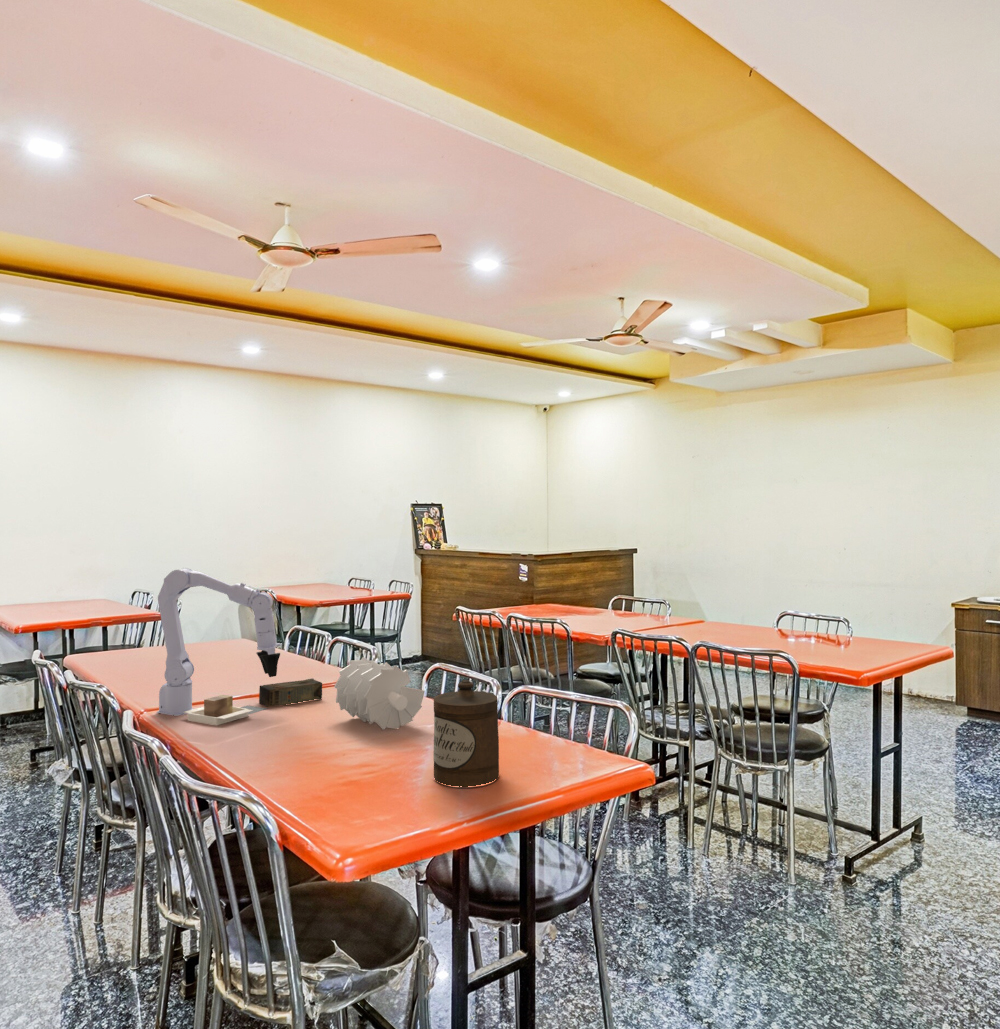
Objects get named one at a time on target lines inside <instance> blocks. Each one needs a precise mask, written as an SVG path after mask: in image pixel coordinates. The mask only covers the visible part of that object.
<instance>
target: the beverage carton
mask: <svg viewBox="0 0 1000 1029" xmlns="http://www.w3.org/2000/svg"><path fill="white" fill-rule="evenodd" d="M258 691H259V692H258V694H259V695H258V697H259V698H258V699H259V700H258V702H259V704H261V705H262V706H265V708H266V707H267V708H272V707H278V706H279V705H285V706H287V705H286V704H291V703H297V704H299V703H298V702H303V701H309V700H314V699H321V698H322V699H323V682H322V681H318V680H316V679H314V678H313V677H312V678H307V679H303V680H294V681H284V682H277V683H269V684H267V683H266V684H263V685H259V689H258ZM322 699H321V700H322ZM309 702H310V701H309ZM303 703H304V702H303ZM291 705H292V704H291ZM279 707H280V706H279Z"/></svg>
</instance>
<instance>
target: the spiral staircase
mask: <svg viewBox="0 0 1000 1029" xmlns="http://www.w3.org/2000/svg"><path fill="white" fill-rule="evenodd" d="M338 672H339V674H340V675H339V677H338V679H337V681H336V683H335V684H334V686H333V688H335V689H336V698H335V703H336V704H339V705H338V706H339V709H340V711H343V710H345V711H346V712H347V713H348V714H349V715H350V716H351V717H352V718H355V716H356V717H358V719H360V720H361V721H362V722H364V723H366V722H368V723H369V724H370V725H372V724H373V723H376V724H377V725H378V727H380V729H382V731H384V730H385V729H386V728H389V729H396V728H399V729H400V727H403V726H404V725H406V724H409V723H411V722H413V721H414V719H413V718H415V716H417V713H419V711H420V710H421V709H422V707H423V706H422V703H423V700H424V696H425V691H426V690H424V689H417V688H412V687H408V686H407V685H409V684H410V683H412V681H411V678H410V676H409V673H408V671H407V669H405V670H402V669H401V668H399V667H398V666H397V665H393V666H391V665H390V664H389V663H388V662H387V661H386V662H385V663H384V662H381V663H380V664H379V663H378V662H376V661H375V660H372V659H370V660H369V659H368V658H366V657H364V656H362V658H361V659H354V660H349V664H348V665H347V666H345V667H343V668H342V669H340V670H339V671H338ZM365 721H366V722H365ZM396 730H397V729H396Z"/></svg>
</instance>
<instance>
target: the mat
mask: <svg viewBox="0 0 1000 1029" xmlns="http://www.w3.org/2000/svg"><path fill="white" fill-rule="evenodd" d="M239 708H246V709H249V710H253V711H252V712H249V715H252V714H255V713H258V712H261V711H266V710H269V707H267V708H266V707H260V706H254V705H244V706H241V707H240V706H239Z"/></svg>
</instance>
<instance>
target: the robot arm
mask: <svg viewBox="0 0 1000 1029" xmlns="http://www.w3.org/2000/svg"><path fill="white" fill-rule="evenodd" d="M194 587H195V588H197V587H205V588H207V589H210V590H212V591H216V592H218V593H222V594H225V595H226V596H227V597H228V599H229V601H231V602H234V603H236V604H239V605H241V606H244V607H246V608H251V610H253V614H254V626H255V636H256V645H257V646H256V650H258V651H257V652H256V653H255V654H256V655H257V657H258V658H259V660H260V663H261V666H262V670H263V673H264V674H267V675H268V677H269V678H272V677H277V673H278V663H279V659H280V657H281V652H277V653H276V648H277V647H280V646H282V644H281V642H277V634H276V627H275V626H276V625H275V619H274V615H273V614H274V613H273V607H272V606H273V603H274V599H273V597H272V595H271V594H269V593H268V592H266V591H262V592H261V589H259V588H258V589H254V588H252V587H249V586H247V585H246V583H245V582H240V583H239V582H236V583H234V584H230V583H228V582H225V581H223V580H221V579H219V578H216V577H214V576H212V575H210V574H207V573H204V572H201V571H198V570H192V569H191V568H188V567H185V568H184V567H183V568H181V569H174V570H172V571H170V572H168V574H167V575H166V577H164V578H163V584H162V586H161V588H160V590H159V592H158V595H157V603H158V608H159V613H160V620H161V621H160V622H161V626H162V631H163V637H164V642H165V644H164V645H165V649H166V658H165V659H166V660H165V671H164V679H165V682H166V683H164V684H162V686H160V689H159V691H158V692H159V694H158V695H159V696H158V711H157V710H156V714H159V713H161V714H163V715H167V716H168V715H169V716H173V715H174V717H178V716H179V717H180V716H183V715H186V714H187V715H188V713H183V712H185V711H189V710H192V709H193V680H192V679H191V677H192V675H193V674H194V672H195V666H194V663H193V662H191V659H190V656H189V653H188V652H187V650H186V646H185V641H184V635H183V630H182V623H181V618H180V612H179V607H178V599H180V597H181V596H182V595H183V593H185V592H186V591H187V590H188V589H190V588H194ZM161 714H160V715H161Z"/></svg>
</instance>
